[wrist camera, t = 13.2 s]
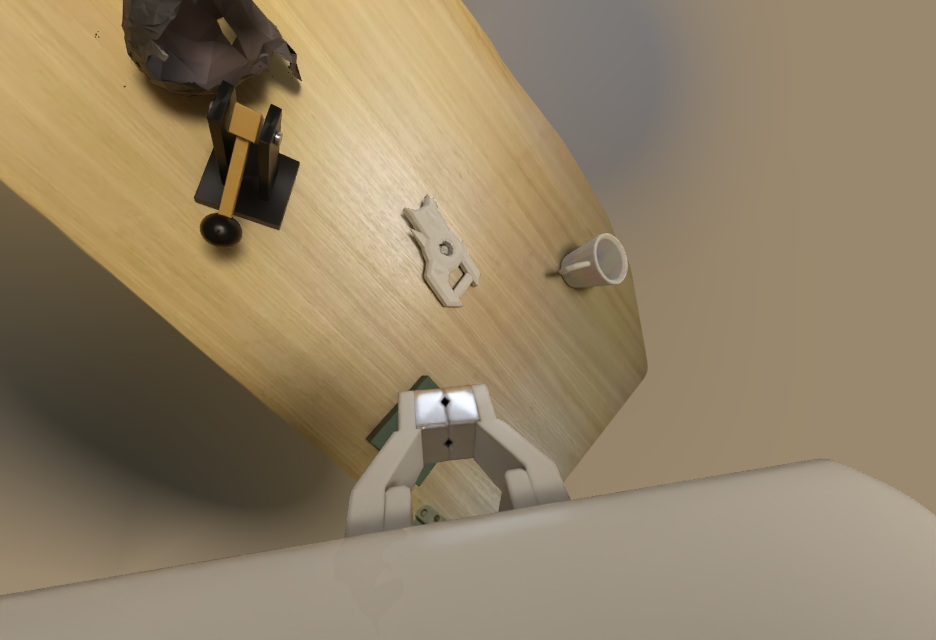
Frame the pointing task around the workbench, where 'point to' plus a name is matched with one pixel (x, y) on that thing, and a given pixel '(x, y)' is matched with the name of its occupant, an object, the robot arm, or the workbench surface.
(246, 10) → the crumpled paper
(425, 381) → the button box
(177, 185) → the workbench surface
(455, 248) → the beige holed clip
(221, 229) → the lever
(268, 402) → the workbench surface
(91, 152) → the workbench surface
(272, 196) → the black lever stand
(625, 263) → the mug
